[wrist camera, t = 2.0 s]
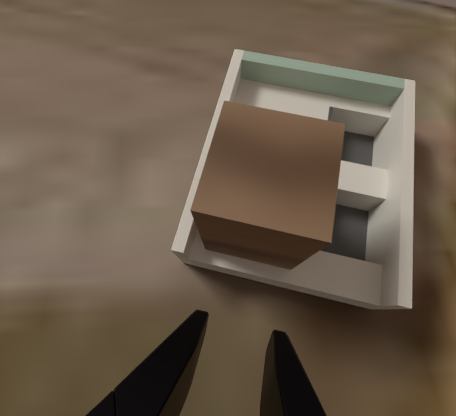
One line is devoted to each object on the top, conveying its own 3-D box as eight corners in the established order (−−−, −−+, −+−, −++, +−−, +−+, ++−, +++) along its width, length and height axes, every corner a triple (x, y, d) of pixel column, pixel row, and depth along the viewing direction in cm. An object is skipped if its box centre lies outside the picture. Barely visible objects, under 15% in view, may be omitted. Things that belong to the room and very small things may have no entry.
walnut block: (290, 270, 19) (331, 242, 11) (205, 249, 19) (190, 210, 12) (303, 191, 21) (345, 123, 13) (225, 174, 21) (223, 100, 14)
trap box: (370, 309, 21) (412, 308, 16) (183, 262, 22) (171, 249, 17) (382, 121, 27) (415, 80, 22) (233, 93, 28) (234, 49, 23)
